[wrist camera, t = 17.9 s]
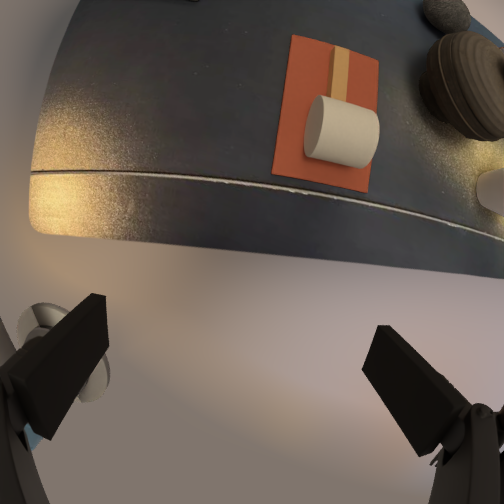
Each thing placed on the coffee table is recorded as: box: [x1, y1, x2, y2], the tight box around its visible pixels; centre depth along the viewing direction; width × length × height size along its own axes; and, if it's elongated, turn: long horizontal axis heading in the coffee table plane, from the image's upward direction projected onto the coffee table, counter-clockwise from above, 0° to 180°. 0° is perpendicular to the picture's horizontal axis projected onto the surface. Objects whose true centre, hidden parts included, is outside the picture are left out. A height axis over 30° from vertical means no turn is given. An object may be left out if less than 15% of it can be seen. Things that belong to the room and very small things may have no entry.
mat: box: [271, 35, 379, 193], centre depth 35 cm, size 22×14×1 cm, turn 171°
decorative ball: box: [423, 0, 471, 34], centre depth 26 cm, size 10×10×10 cm
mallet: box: [304, 45, 379, 169], centre depth 30 cm, size 18×7×8 cm, turn 172°
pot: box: [419, 31, 504, 142], centre depth 26 cm, size 18×18×20 cm
